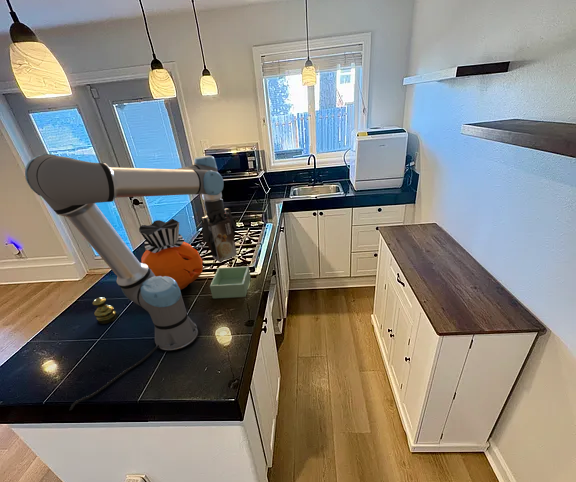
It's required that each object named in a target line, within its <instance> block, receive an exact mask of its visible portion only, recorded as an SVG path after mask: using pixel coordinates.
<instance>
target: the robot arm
mask: <svg viewBox="0 0 576 482" xmlns="http://www.w3.org/2000/svg"><path fill="white" fill-rule="evenodd" d="M218 171H219V170H218V166H217V162H216V158H215V157H214V156H212V155H201V156H197V157H194V164H192V165H187V166H184V167H183V166H182V167H179V168H141V167H110V166H109V165H108V164H107V163H105V162H91V161H86V160H80V159H76V158H72V157H67V156H63V155H62V156H61V155H56V154H52V153H45V154H41V155H37V156H34V157H33V158H31V159H30V160H29V161H28V162H27V164H26V165H25V169H24V177H25V181H26V183H27V185H28V186H29V187H30V189H31V190H32V192H34V193H35V194H37V195H38V196H39V197H41V198H42V199H43V200H44V201H45V202H46V203H47V205H48V206H49V207H50V208H51V209H52V210H53V211H54V212H55V213H56V215H57V216H61V217H65V218H67V219H68V220H69V222H70V223H71V224H72V225H73V226H74V227H75V229H76V230H77V231H78V232H79V233H80V235H82V237H83V238H84V239H85V240H86V241H87V242H88V244H89V245H90V246H91V247H92V249H93V250H94V251H95V252H96V253H97V254H98V256H99V257H100V258H101V259H102V260H103V261H104V262H105V264H106V265H107V266H108V267H109V268H110V270H111V271H112V272H113V274H114V275H116V277H117V278H116V284H117V285H118V286H119V287H120V289H121V292H122V294H123V295H124V297H126V298H127V300H130V301H131V302H133V303H135V304H136V305H137V306H140V307H141V308H142V309H144V310H145V311H146V312H147V313H148V314H149V316H150V318H151V321H152V324H153V326H154V343H155V345H156V346H155V347H154V348H153V349H152V350H151V351H149V352H148V353H147V354H146V355H145V356H144V357H143V358H141V359H140V360H138V361H137V362H136V363H134V364H133V365H131V366H129V367H128V368H126V369H125V370H123V371H121V372H120V373H119V374H117V375H116V376H115V377H113V378H112V379H111V380H109V381H108V382H107V383H106V384H104V385H103V386H102V387H101V386H100V388H99V389H97V390H95V391H94V392H92V393H91V394H89V395H86V396H84V397H81V398H79V399H77V400H75V401H74V402H73V403H72V404H71V406H70V407H69V410H68V411H73V409H74V408H75V407H76V405H78V404H79V403H81V402H84V401H86V400H89V399H90V398H93V397H95V396H96V395H97V394H99V393H100V392H102V391H103V390H105V389H106V388H107V387H108V386H110V385H112V384H113V383H114V382H115V381H116V380H118V379H120V378H121V377H122V376H124V375H125V374H126V373H128V372H129V371H131V370H133V369H134V368H136V367H137V366H139V365H141V364H142V363H143V362H144V361H145V360H147V359H148V358H150V356H151V355H152V354H153V353H154V352H155V351H156V350H157V349H158V350H160V351H162V352H164V353H165V352H167V353H173V352H178V351H182V350H184V349H187V348H189V347H190V346H191V345H192V344H193V343H195V341H197V339H198V337H199V329H198V326H197V324H196V323H195V322H194V321H193V319H191V317H190V316H189V315H188V312H187V309H186V306H185V303H184V298H183V296H182V292H181V290H180V288H179V286H178V284H177V282H176V281H175V280H174V279H173V278H171V277H168V276H163V277H162V276H155V275H154V273H153V272H152V271H151V269H150V268H149V267H148V265H147V264H145V263H141V262H140V261H139V259H138V258H137V257H136V256H135V254H134V253H133V251H132V250H131V249H130V247H129V246H128V244H126V242H125V240H124V239H123V238H122V237H121V235H120V234H119V233H118V232H117V230H116V229H115V227H113V225H112V224H111V222H110V221H109V219H108V218H107V217H106V215H105V214H104V213H103V211H102V210H101V209H100V208H99V206H98V205H97V204H98V203H99V204H100V203H112V202H114V201H115V199H118V198H139V197H142V198H143V197H163V196H167V197H168V196H186V195H187V196H188V195H201V196H202V200H203V205H204V210H205V212H206V215H205V216H201V217H200V221H201V241H202V242H204V243H206V244H207V247H208V250H210V254H211V257H212V256H215V257H217V253H216V248H215V244H214V242H213V241H212V240H213V236H212V232H211V231H210V230H209V229H208V222H209V224H212V223H213V225H214V224H216V223H217V222H219V221H222V220H226V219H229V220H230V221H231V226H232V231H233V236H234V240H235V233H236V231H237V230H238V227H237V225H236V223H235V221H234V217H233V215H232V210H231V208H227V207H225V205H224V199H223V198H222V197H223V193H222V192H223V190H224V185H225V184H224V178H223V176H222V175H221V173H219V172H218Z"/></svg>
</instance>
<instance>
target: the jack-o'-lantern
mask: <svg viewBox="0 0 576 482" xmlns="http://www.w3.org/2000/svg"><path fill="white" fill-rule="evenodd" d="M138 232H139V234H140V235H141V236H142V237H143V239H144V240H145V241H144V244H143V245H144V250H145V251H144V252H143V253H142V255H141V258H140V259H141V260H140V261H141V262H140V263H145V264H147V265H148V267H149V268H150V269H151V271H152V272H153V273H154V275H155V276H162V277H163V276H168V277H171V278H173V279H174V280H175V281H176V282H177V284H178V286H179V288H180V291H181V290H182V291H183V290H184V289H186V288H187V287H188V285H190V284H193V283H194V282H195V281H196V280H197V279H198V278H199V277H200V276H201V274H202V273H203V270H204V265H203V264H204V263H203V262H204V260H203V258H202V257H201V255H200V253H199V251H198V250H197V249H196V248H194V247H193V246H192V245H191V244H190V243H189V242H186V239H185V238H184V236H183V235H182V234H180V222H179V221H178V220H176V219H174V218H170V219H169V220H168V221H163V220H160V219H156V220H154V221H153V222H152V223H151V224H148V225H147V224H141V225H140V226H139V228H138Z"/></svg>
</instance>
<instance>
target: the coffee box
mask: <svg viewBox="0 0 576 482" xmlns="http://www.w3.org/2000/svg"><path fill="white" fill-rule="evenodd" d="M208 229H209V230H210V231H211V232H212V236H213V240H212V241H213V242H214V244H215V248H216V253H217V257H215V256H212V255H211V257H212V259H214V260H216V261H217V262H218V263H221V262H224V261H226V260H229V259H231V258H234V257H237V256H238V253H237V251H238V250H237V247H236V242H235V239H234V238H235V235H234V236H233V231H232V226H231V221H230V220H229V219H227V218H226V220H222V221H219V222H217V223H216V224H214V225H213V223H212V224H209V221H208Z"/></svg>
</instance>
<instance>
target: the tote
mask: <svg viewBox="0 0 576 482" xmlns="http://www.w3.org/2000/svg"><path fill="white" fill-rule="evenodd" d="M251 277H252V276H251V271H250V266H249V265H248V266H247V265H246V266H232V267H231V266H229V267H218V268H217V270H216V272H215V274H214V276H213V278H212V280H211V283H210V285H209V289H210V292H211V297H212V299H230V298H246V296H247V294H248V291H249V290H248V289H249V286H250V282H251Z"/></svg>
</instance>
